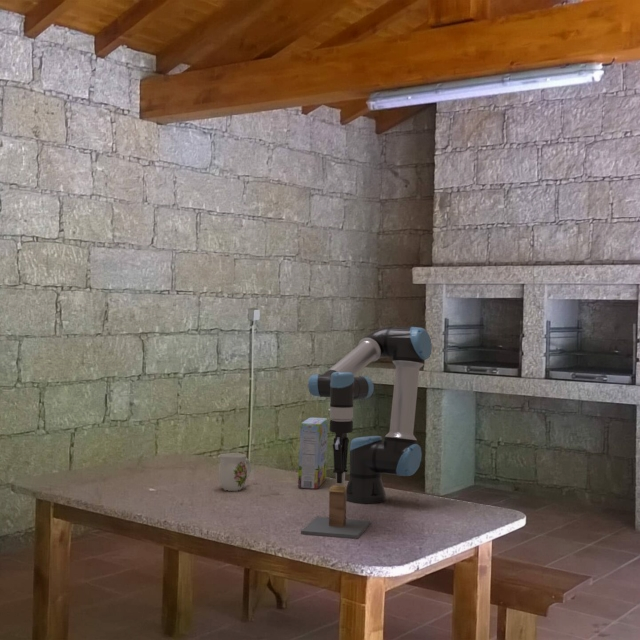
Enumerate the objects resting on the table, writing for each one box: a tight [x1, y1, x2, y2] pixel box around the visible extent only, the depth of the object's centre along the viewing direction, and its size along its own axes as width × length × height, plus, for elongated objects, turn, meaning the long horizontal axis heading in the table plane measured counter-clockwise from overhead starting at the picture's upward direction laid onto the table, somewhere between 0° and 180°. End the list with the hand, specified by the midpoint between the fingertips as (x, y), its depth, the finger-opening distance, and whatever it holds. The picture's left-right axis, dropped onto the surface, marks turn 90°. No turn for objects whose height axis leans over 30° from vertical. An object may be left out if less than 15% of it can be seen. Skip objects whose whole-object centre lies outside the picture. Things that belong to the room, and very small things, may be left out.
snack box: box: [297, 417, 329, 490], centre depth 347 cm, size 22×9×26 cm, turn 171°
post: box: [328, 485, 347, 527], centre depth 277 cm, size 4×4×12 cm
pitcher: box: [217, 452, 252, 492], centre depth 335 cm, size 11×18×14 cm, turn 143°
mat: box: [300, 516, 371, 540], centre depth 276 cm, size 20×18×1 cm
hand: (340, 492), depth 280 cm, fingers closed
